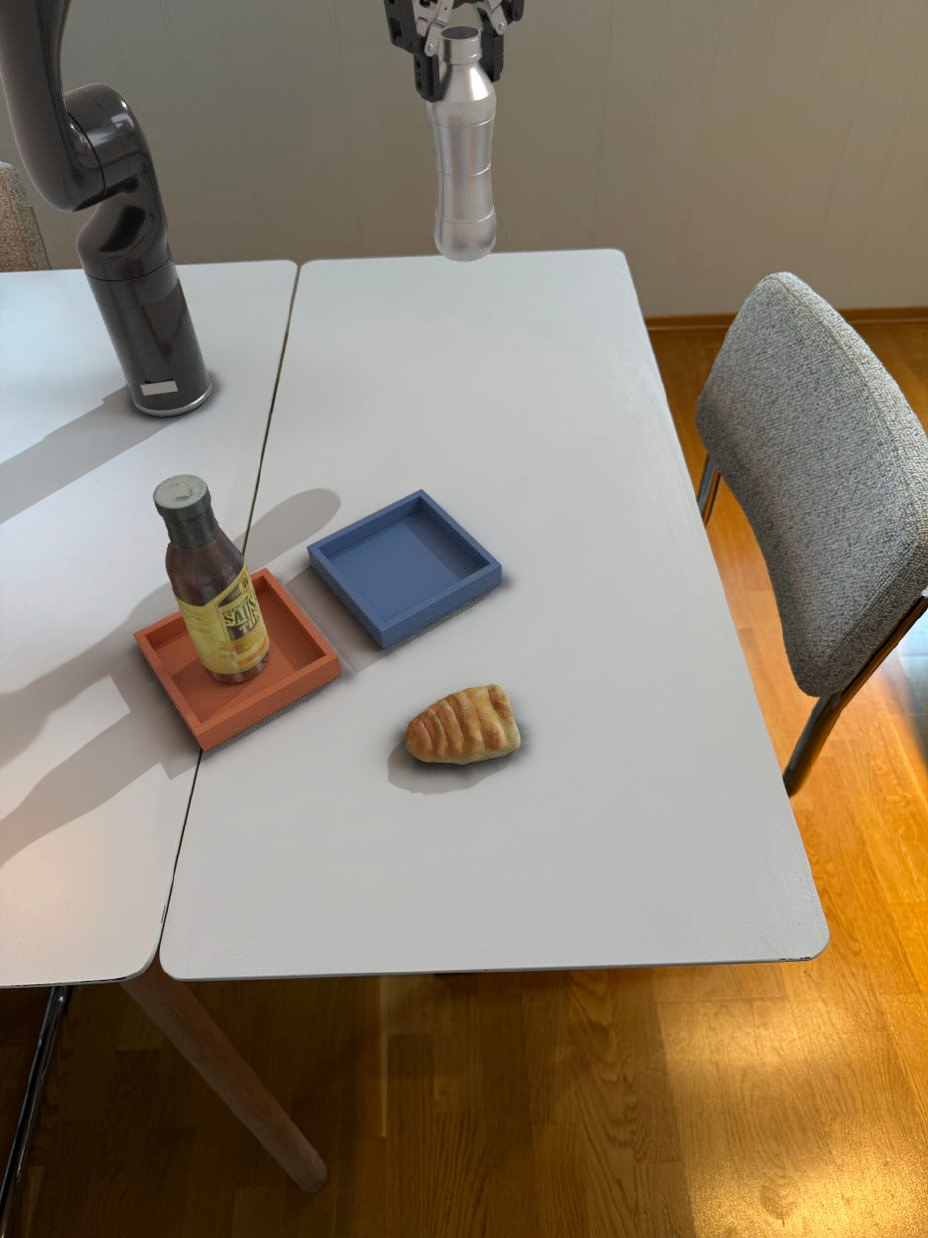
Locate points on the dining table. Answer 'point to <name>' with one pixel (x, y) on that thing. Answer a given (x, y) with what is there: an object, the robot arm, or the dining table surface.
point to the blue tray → (404, 567)
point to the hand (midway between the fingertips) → (460, 88)
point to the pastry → (464, 727)
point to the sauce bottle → (211, 583)
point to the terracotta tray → (234, 707)
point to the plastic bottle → (463, 148)
